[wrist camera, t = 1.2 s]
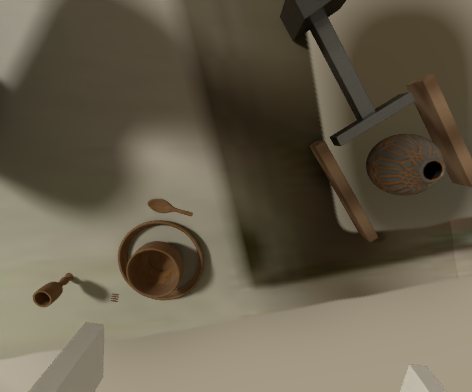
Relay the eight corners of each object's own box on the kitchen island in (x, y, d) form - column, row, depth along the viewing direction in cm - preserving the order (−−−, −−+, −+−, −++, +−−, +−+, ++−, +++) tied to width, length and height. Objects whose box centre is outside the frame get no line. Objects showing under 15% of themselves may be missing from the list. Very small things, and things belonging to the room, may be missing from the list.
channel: (309, 145, 33) (315, 146, 30) (415, 79, 31) (433, 73, 28) (359, 233, 36) (369, 242, 33) (461, 177, 34) (481, 181, 31)
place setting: (188, 318, 40) (179, 349, 35) (60, 283, 40) (29, 309, 34) (219, 214, 36) (214, 229, 31) (77, 173, 36) (46, 180, 30)
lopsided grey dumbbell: (267, 25, 30) (273, -1, 24) (339, -26, 29) (364, -67, 23) (334, 145, 33) (353, 147, 27) (402, 103, 32) (438, 96, 26)
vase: (423, 165, 34) (484, 175, 25) (377, 198, 35) (421, 219, 26) (393, 122, 33) (447, 117, 24) (347, 158, 34) (382, 166, 25)
